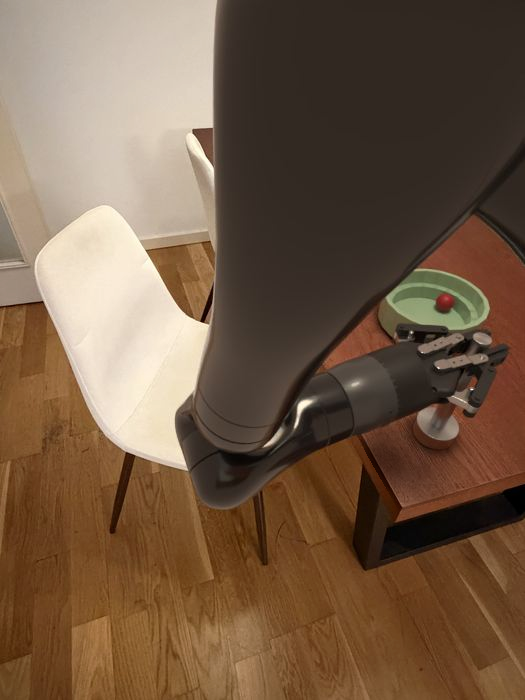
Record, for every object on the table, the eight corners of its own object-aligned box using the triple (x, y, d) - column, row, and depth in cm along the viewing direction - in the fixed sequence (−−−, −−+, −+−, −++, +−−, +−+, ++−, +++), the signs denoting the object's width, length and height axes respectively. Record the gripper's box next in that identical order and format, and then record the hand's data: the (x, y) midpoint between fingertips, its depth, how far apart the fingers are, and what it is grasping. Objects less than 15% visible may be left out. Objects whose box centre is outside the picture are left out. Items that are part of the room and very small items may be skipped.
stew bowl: (494, 327, 74) (508, 300, 69) (439, 371, 66) (452, 345, 61) (414, 283, 83) (422, 258, 79) (357, 317, 75) (363, 292, 71)
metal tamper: (461, 435, 57) (519, 340, 44) (438, 457, 54) (493, 363, 41) (427, 410, 60) (472, 315, 47) (404, 430, 57) (445, 335, 45)
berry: (453, 310, 76) (460, 296, 74) (444, 316, 75) (451, 302, 72) (438, 302, 78) (445, 288, 76) (429, 308, 76) (435, 293, 74)
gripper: (427, 418, 34) (566, 359, 39) (340, 323, 43) (463, 285, 48) (405, 464, 40) (530, 406, 45) (332, 370, 49) (443, 331, 54)
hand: (494, 343), depth 47 cm, fingers closed on metal tamper
